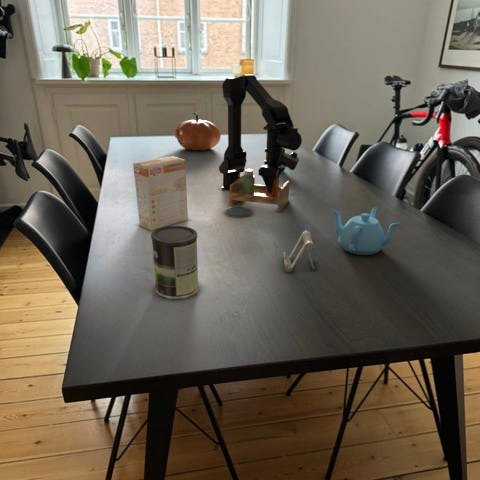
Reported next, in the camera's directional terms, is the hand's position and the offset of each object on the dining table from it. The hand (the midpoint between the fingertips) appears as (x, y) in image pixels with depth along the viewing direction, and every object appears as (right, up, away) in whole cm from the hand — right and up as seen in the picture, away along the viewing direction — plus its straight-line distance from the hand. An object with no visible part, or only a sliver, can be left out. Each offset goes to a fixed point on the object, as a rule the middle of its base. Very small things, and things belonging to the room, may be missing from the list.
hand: (272, 190), depth 165 cm
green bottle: (-9, 0, +3) cm, 9 cm away
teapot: (+24, -25, -30) cm, 46 cm away
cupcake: (+6, +20, +45) cm, 50 cm away
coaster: (-12, -9, -6) cm, 16 cm away
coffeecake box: (-36, -15, -15) cm, 42 cm away
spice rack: (-4, -4, +4) cm, 7 cm away
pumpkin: (-35, +45, +85) cm, 102 cm away
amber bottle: (0, -1, +1) cm, 2 cm away
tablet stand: (+4, -31, -42) cm, 53 cm away
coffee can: (-27, -38, -55) cm, 72 cm away
